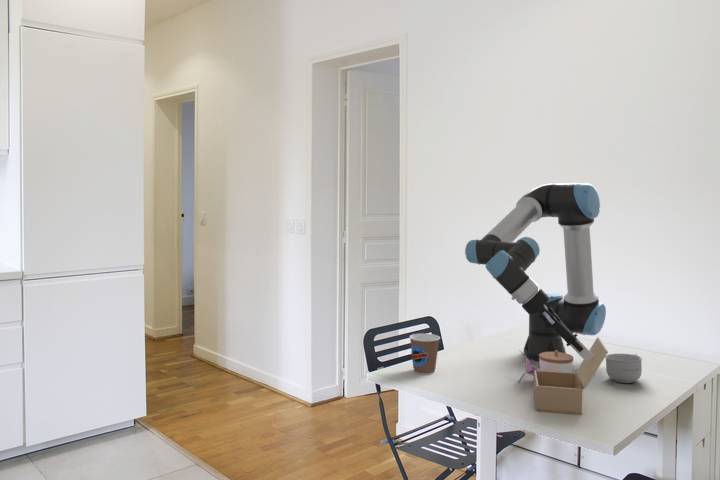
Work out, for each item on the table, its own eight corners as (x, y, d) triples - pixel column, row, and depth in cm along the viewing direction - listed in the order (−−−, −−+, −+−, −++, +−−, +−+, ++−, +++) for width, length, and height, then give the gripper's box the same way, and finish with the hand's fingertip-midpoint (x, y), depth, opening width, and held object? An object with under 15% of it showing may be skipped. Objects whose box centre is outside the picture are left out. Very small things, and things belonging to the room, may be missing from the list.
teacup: (625, 387, 191) (626, 362, 191) (597, 378, 201) (598, 354, 200) (655, 381, 198) (656, 357, 197) (626, 372, 207) (627, 349, 207)
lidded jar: (572, 376, 203) (573, 348, 203) (572, 385, 193) (573, 356, 193) (539, 373, 207) (539, 345, 206) (537, 382, 197) (538, 353, 196)
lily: (540, 394, 188) (554, 366, 189) (504, 375, 192) (518, 348, 193) (539, 394, 199) (552, 368, 200) (506, 376, 203) (519, 350, 204)
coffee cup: (402, 371, 208) (403, 336, 207) (421, 365, 215) (421, 332, 215) (427, 378, 201) (427, 341, 200) (445, 371, 208) (446, 336, 208)
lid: (604, 349, 165) (608, 352, 165) (596, 336, 180) (599, 338, 180) (580, 388, 167) (584, 390, 167) (574, 371, 183) (578, 373, 182)
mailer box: (536, 410, 170) (536, 386, 170) (533, 393, 186) (534, 370, 185) (581, 414, 168) (582, 389, 167) (575, 396, 183) (576, 373, 183)
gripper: (520, 301, 183) (576, 360, 181) (520, 309, 171) (581, 373, 168) (539, 284, 182) (596, 344, 179) (541, 291, 169) (603, 355, 166)
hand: (589, 358), depth 173 cm, fingers closed
